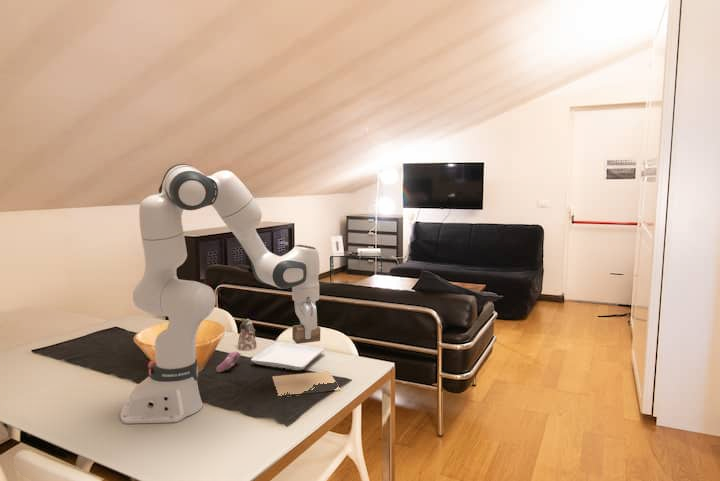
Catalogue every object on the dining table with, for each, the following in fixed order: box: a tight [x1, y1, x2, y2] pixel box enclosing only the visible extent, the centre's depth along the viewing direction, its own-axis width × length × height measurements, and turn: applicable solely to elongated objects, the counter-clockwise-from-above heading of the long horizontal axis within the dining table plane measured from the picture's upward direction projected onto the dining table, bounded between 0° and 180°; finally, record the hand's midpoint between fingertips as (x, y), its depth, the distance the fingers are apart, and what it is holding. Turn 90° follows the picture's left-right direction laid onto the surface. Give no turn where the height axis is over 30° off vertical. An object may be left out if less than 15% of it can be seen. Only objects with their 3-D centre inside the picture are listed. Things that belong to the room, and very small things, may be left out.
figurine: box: [237, 317, 257, 352], centre depth 206 cm, size 7×7×12 cm
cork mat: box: [272, 370, 341, 397], centre depth 173 cm, size 20×16×1 cm
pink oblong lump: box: [215, 350, 241, 373], centre depth 185 cm, size 10×5×7 cm, turn 170°
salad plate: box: [250, 341, 325, 371], centre depth 194 cm, size 21×21×3 cm
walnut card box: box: [291, 324, 321, 344], centre depth 171 cm, size 5×8×5 cm, turn 113°
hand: (305, 335), depth 171 cm, fingers closed on walnut card box, 5 cm apart
